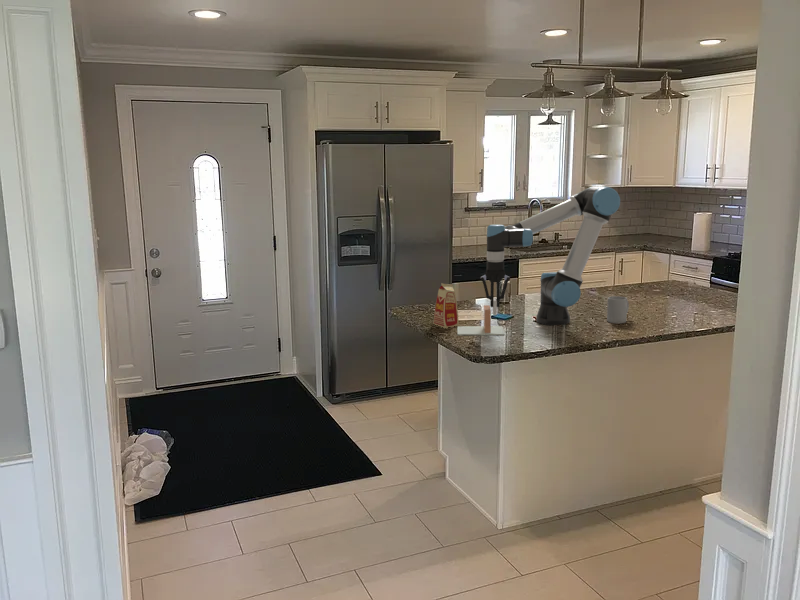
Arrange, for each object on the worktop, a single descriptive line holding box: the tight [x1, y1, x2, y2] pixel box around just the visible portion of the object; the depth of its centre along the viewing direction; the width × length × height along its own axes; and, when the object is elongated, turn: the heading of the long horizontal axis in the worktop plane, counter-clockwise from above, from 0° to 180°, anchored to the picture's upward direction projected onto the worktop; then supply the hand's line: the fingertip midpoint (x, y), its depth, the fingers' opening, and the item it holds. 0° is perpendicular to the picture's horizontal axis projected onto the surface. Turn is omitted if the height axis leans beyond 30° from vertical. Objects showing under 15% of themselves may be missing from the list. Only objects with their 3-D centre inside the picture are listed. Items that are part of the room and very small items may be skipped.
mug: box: [606, 295, 630, 324], centre depth 311 cm, size 12×8×11 cm
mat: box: [456, 325, 505, 336], centre depth 299 cm, size 20×14×1 cm
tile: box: [483, 304, 492, 333], centre depth 297 cm, size 3×10×10 cm, turn 175°
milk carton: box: [432, 282, 460, 329], centre depth 310 cm, size 9×9×20 cm
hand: (494, 314), depth 297 cm, fingers closed
